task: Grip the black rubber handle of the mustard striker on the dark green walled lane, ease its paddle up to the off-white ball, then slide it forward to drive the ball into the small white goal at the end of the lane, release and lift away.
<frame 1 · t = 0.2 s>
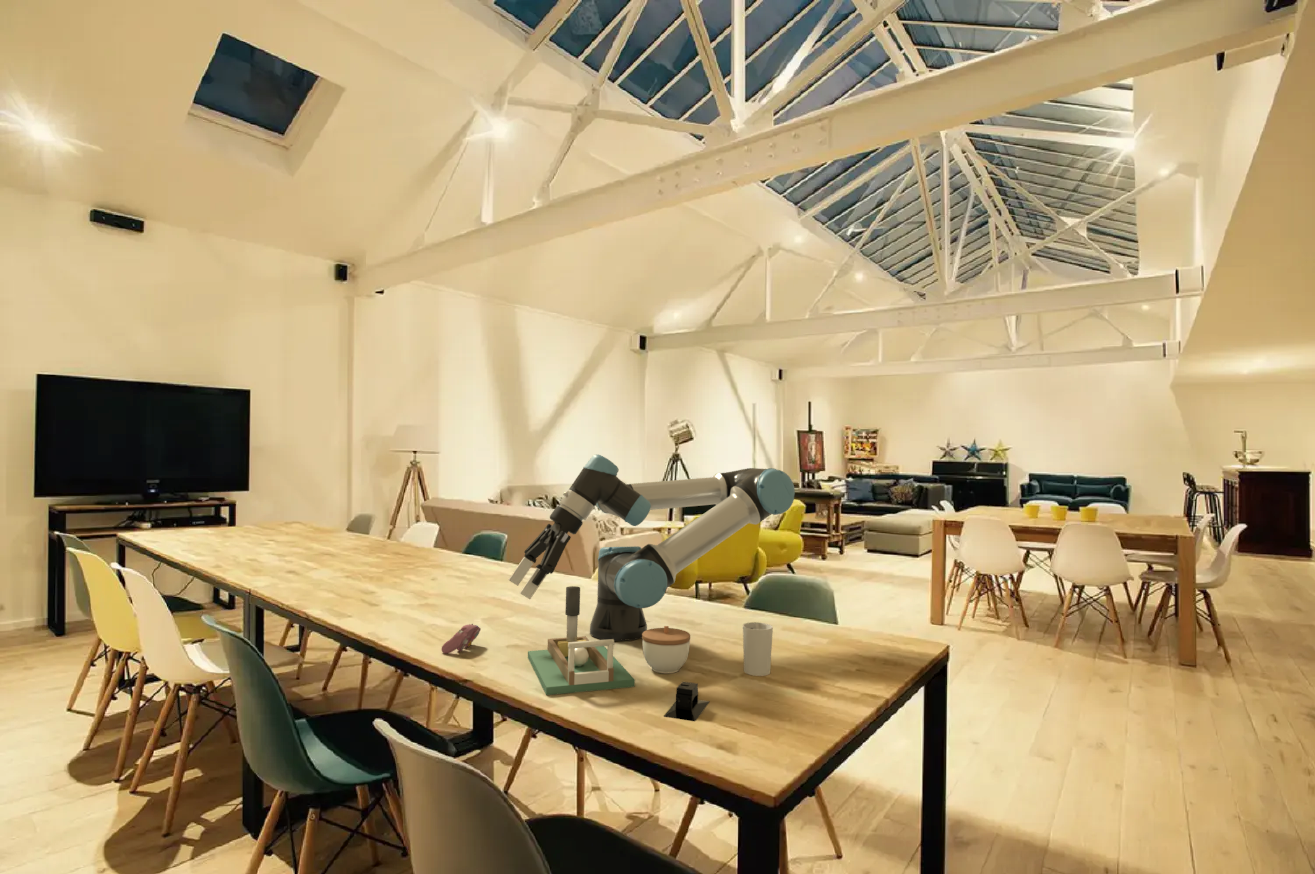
hand: (518, 589, 152), 15 cm above the table, tool tilted 35°, fingers open, 13 cm apart
drinking glass: (756, 672, 145), on the table
pitch: (577, 671, 142), on the table
black arch on base: (686, 712, 122), on the table
ball: (579, 656, 141), point 3 cm above the table, touching pitch
lidded jar: (665, 669, 145), on the table
striker: (572, 620, 149), point 9 cm above the table, slide at 0.0 cm
pink toy animal: (461, 650, 157), on the table
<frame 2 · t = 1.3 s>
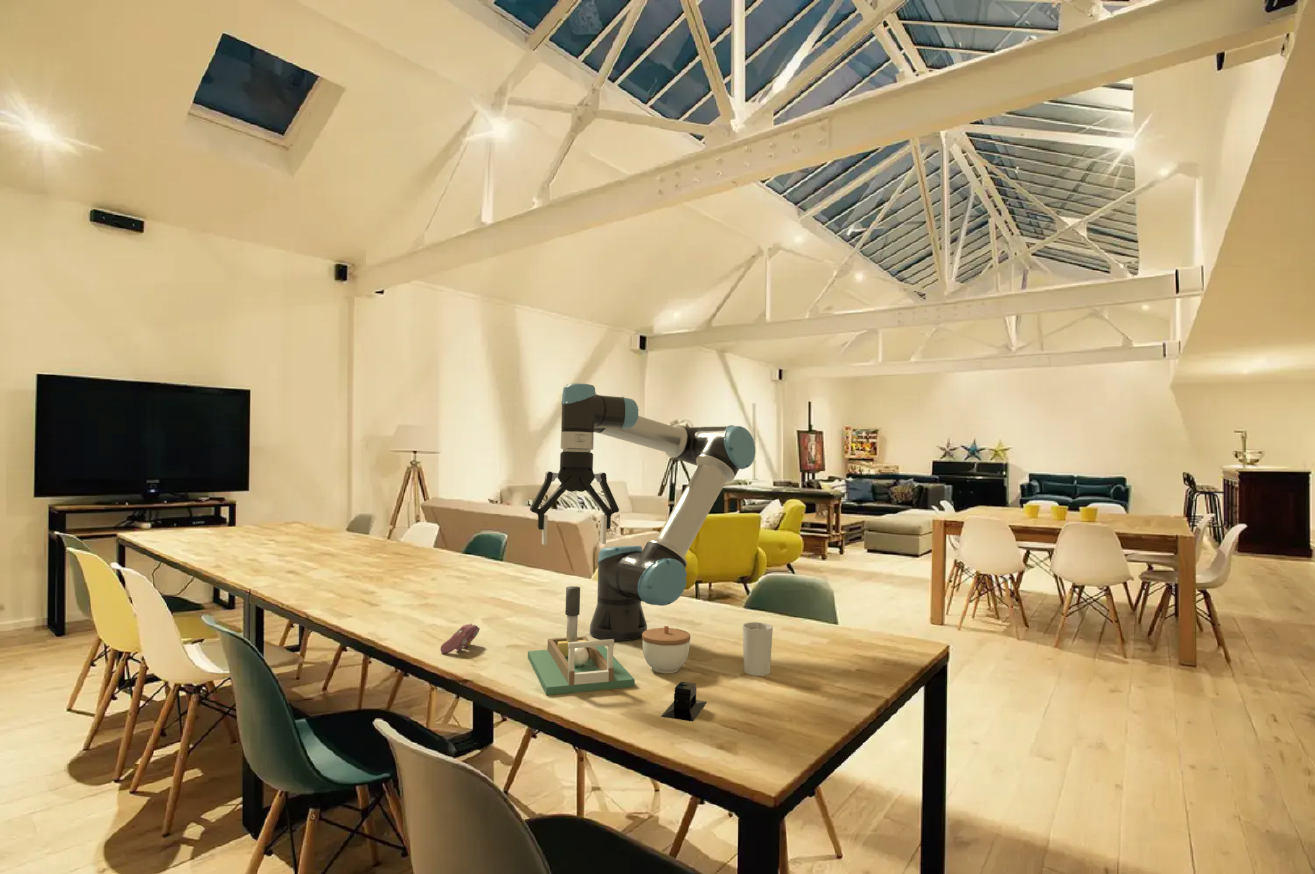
hand: (574, 543, 150), 27 cm above the table, tool pointing down, fingers open, 13 cm apart
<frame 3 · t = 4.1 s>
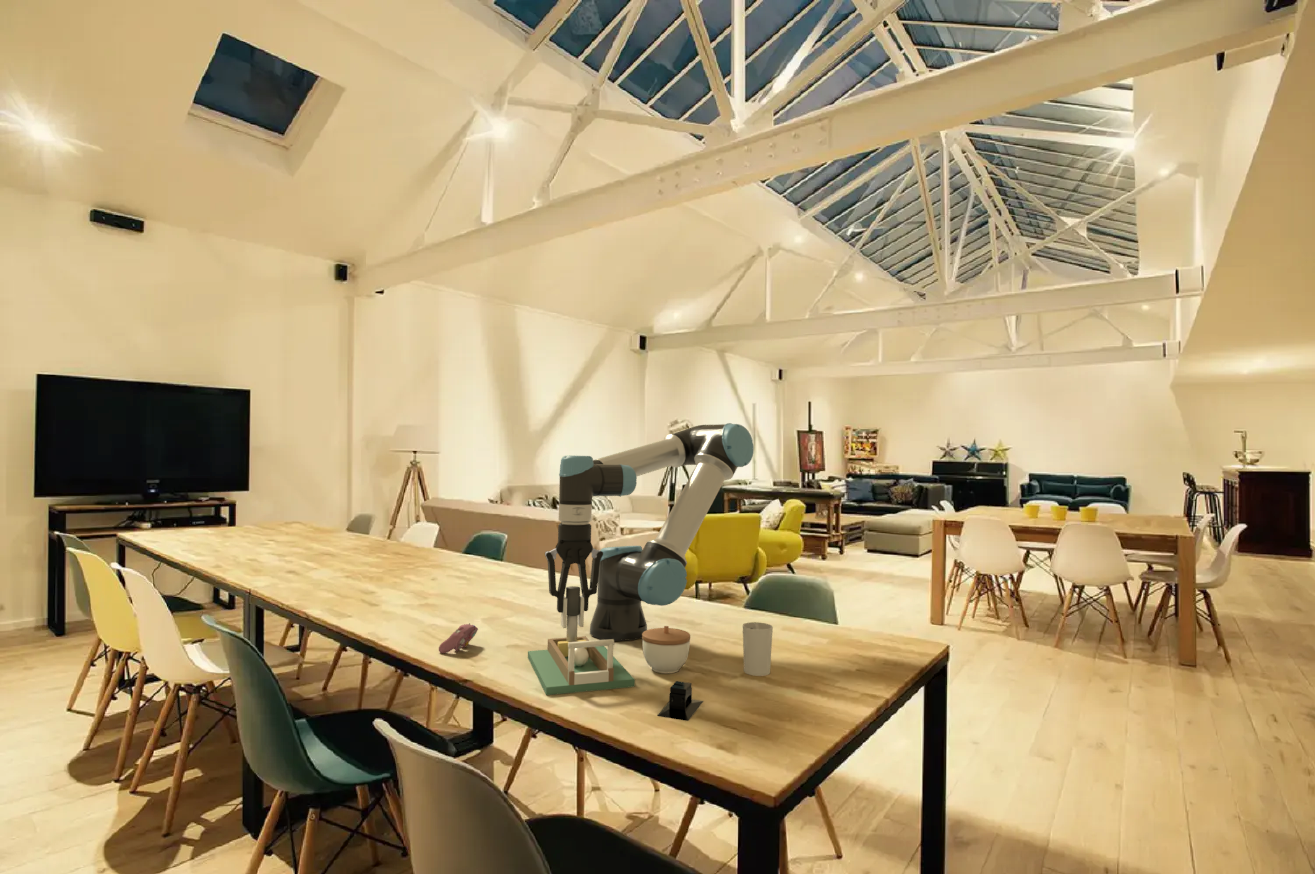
hand: (572, 625, 149), 8 cm above the table, tool pointing down, fingers closed on striker, 3 cm apart
striker: (572, 620, 149), point 9 cm above the table, slide at 0.0 cm, touching gripper
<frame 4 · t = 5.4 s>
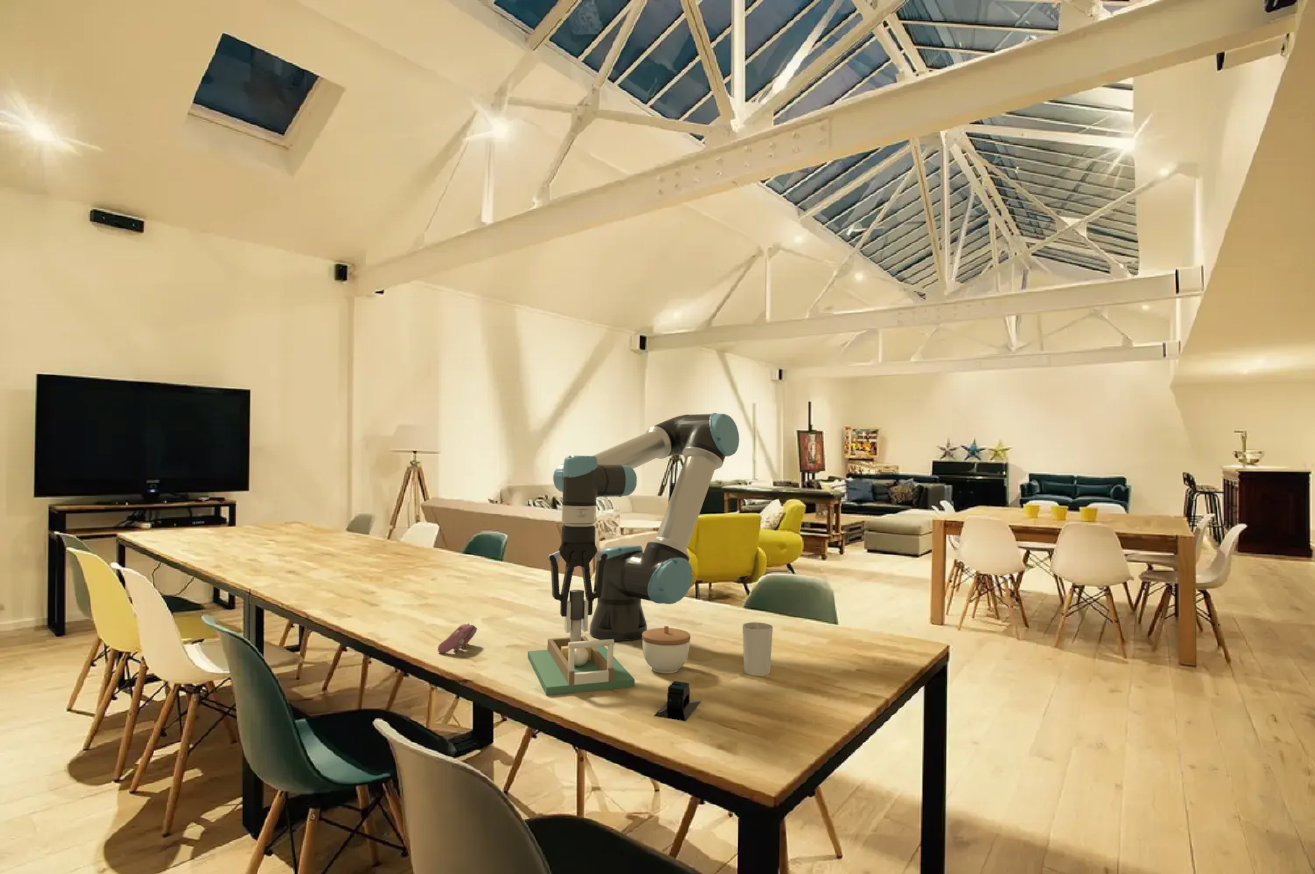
hand: (575, 630, 145), 8 cm above the table, tool pointing down, fingers closed on striker, 3 cm apart
striker: (576, 625, 145), point 9 cm above the table, slide at 4.0 cm, touching gripper
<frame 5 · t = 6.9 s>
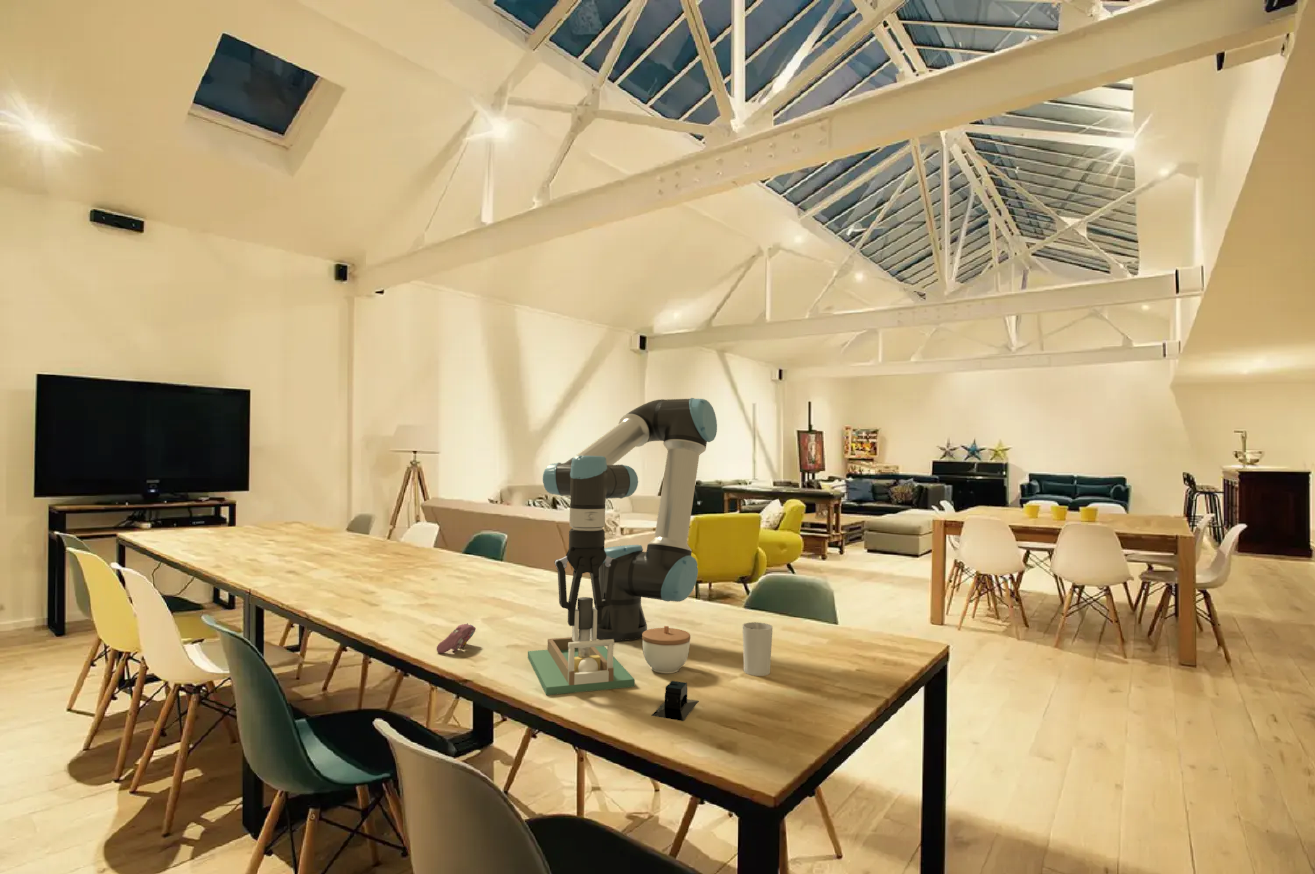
hand: (584, 640, 137), 8 cm above the table, tool pointing down, fingers closed on striker, 3 cm apart
ball: (588, 667, 133), point 4 cm above the table, tilted 124°, touching pitch
striker: (584, 634, 137), point 9 cm above the table, slide at 12.2 cm, touching gripper
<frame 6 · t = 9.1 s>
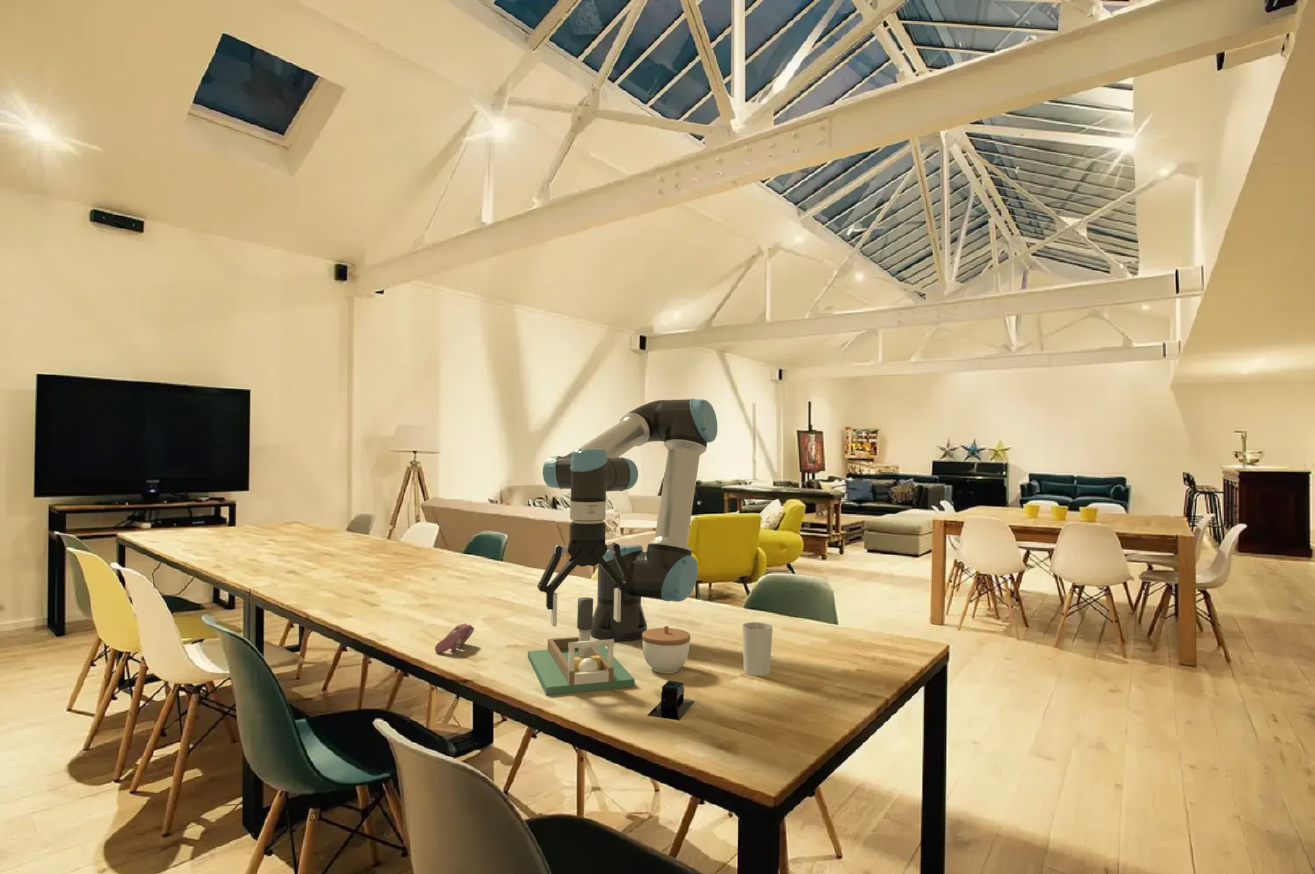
hand: (585, 622, 137), 12 cm above the table, tool pointing down, fingers open, 13 cm apart
striker: (584, 634, 137), point 9 cm above the table, slide at 12.5 cm
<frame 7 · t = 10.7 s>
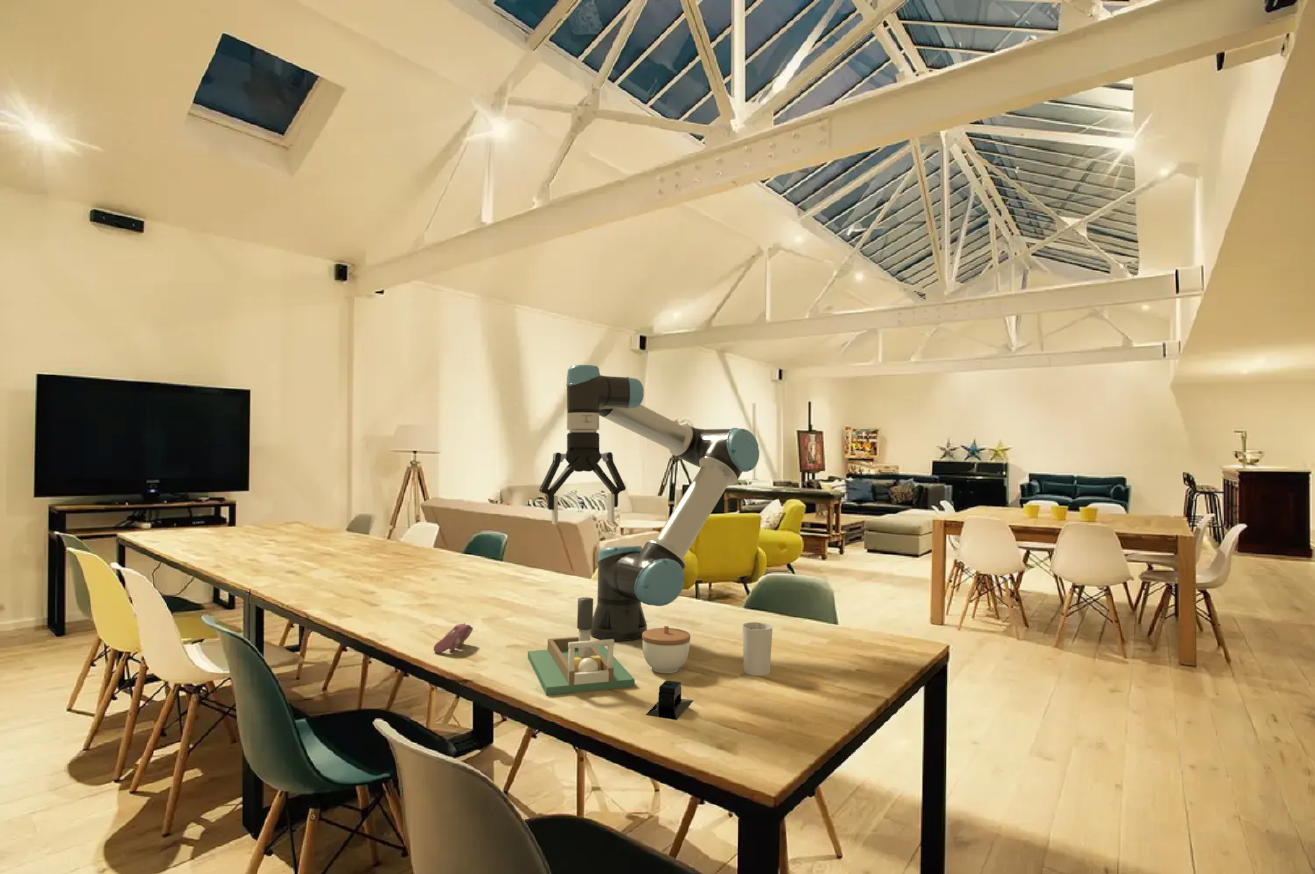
hand: (583, 522, 152), 31 cm above the table, tool pointing down, fingers open, 13 cm apart
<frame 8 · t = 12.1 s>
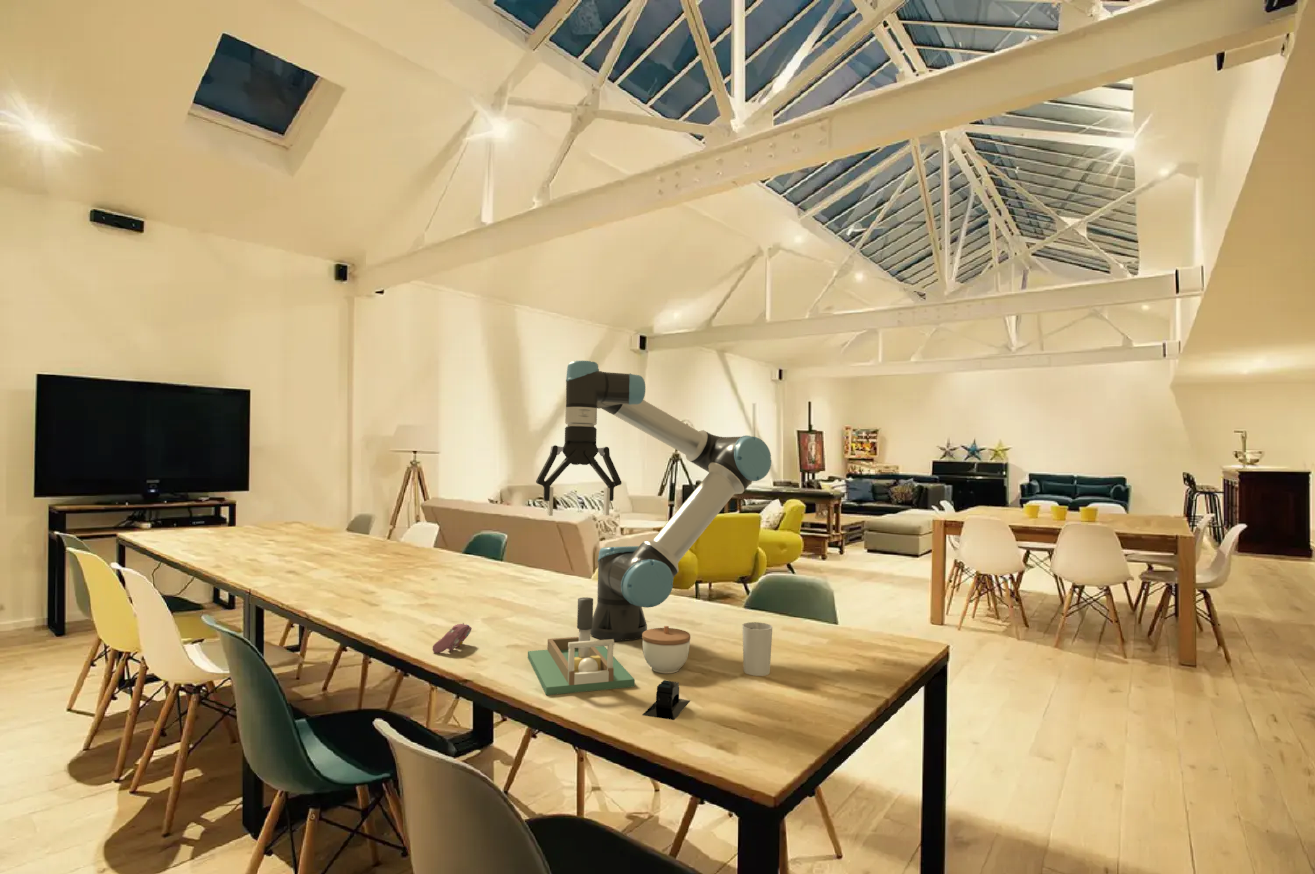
hand: (578, 515, 156), 33 cm above the table, tool pointing down, fingers open, 13 cm apart
at the end: ball 0.2 cm from the target spot on the pitch, point 3.6 cm above the pitch's base; striker slide at 12.5 cm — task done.
